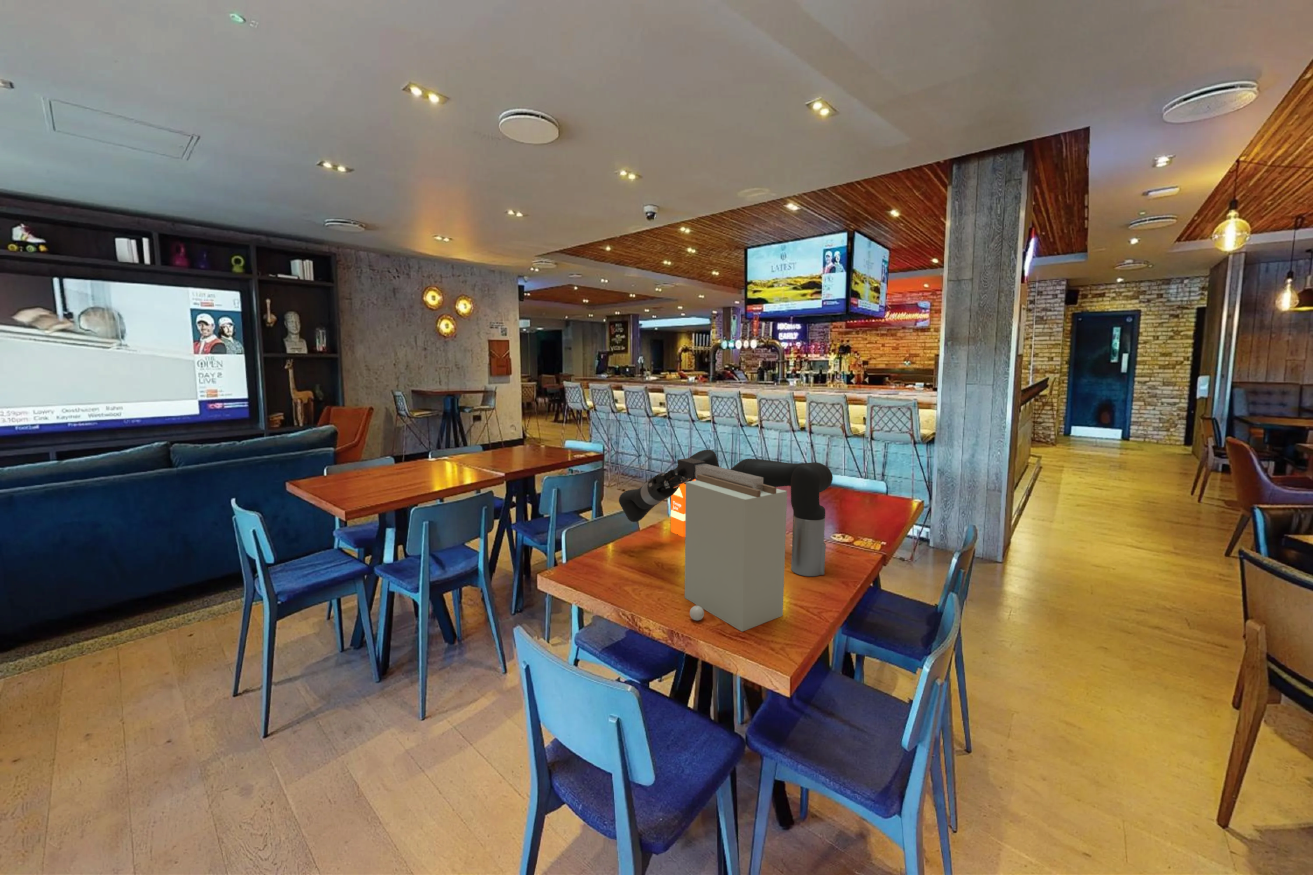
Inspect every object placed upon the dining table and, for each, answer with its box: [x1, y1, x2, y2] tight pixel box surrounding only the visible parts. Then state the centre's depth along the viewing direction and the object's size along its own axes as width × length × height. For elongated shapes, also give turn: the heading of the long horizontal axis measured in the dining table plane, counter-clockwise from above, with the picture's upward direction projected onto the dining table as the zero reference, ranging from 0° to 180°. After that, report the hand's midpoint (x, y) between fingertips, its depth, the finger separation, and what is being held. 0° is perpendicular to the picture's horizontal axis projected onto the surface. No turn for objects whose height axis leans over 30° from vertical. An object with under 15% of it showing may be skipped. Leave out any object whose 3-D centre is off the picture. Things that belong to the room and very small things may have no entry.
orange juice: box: [670, 479, 697, 538], centre depth 196 cm, size 8×9×20 cm
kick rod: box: [676, 457, 763, 492], centre depth 137 cm, size 29×4×4 cm, turn 35°
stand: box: [684, 474, 788, 633], centre depth 135 cm, size 23×14×34 cm, turn 35°
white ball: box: [689, 605, 705, 621], centre depth 129 cm, size 4×4×4 cm
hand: (686, 471), depth 148 cm, fingers open, 8 cm apart
